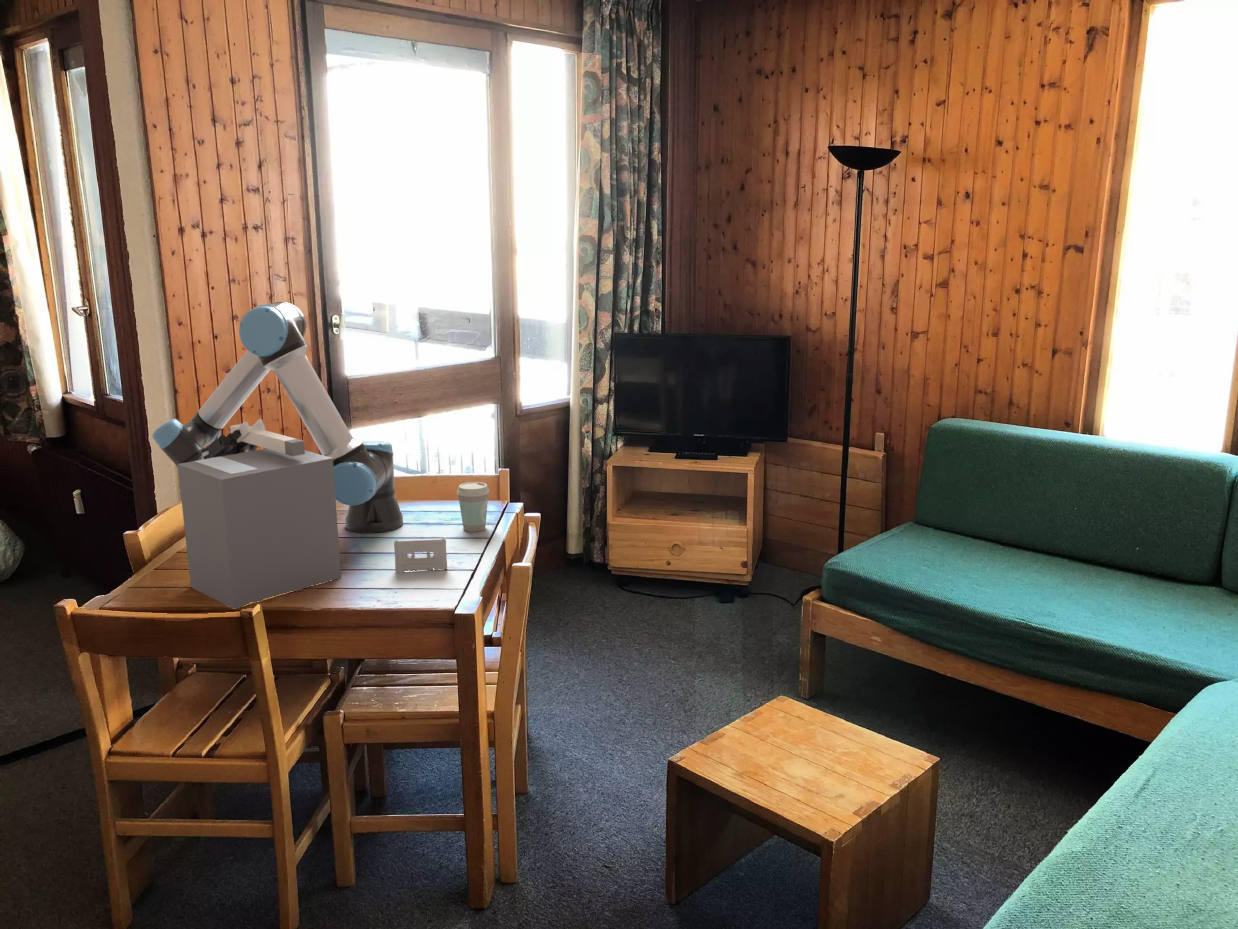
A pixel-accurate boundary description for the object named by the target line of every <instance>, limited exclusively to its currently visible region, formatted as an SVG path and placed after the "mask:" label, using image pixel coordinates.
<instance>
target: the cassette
mask: <svg viewBox="0 0 1238 929" xmlns="http://www.w3.org/2000/svg"><path fill="white" fill-rule="evenodd" d="M393 545H394V546H393V547H394V549H393V550H394V567H395V568H394V570H395V572H396V571H408V570H410V571H413V570H415V571H417V570H433V568H434V569H435V570H438V569H447V570H448V558H447V556H448V555H447V540H446V538H425V539H424V538H422V539H403V540H402V539H401V540H399V539H398V540H394V541H393ZM415 553H426V555H415ZM430 553H433V554H430ZM409 554H411V555H409Z"/></svg>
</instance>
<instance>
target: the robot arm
mask: <svg viewBox="0 0 1238 929" xmlns="http://www.w3.org/2000/svg"><path fill="white" fill-rule="evenodd" d="M306 332H307V321H306V318H305V315H304V313H303V312H302V310H301V309H300V308H299V307H297V306H296V305H294V304H293V303H291V302H287V301H286V302H285V301H277V302H271V303H268V304H267V303H266V304H260V305H258V306H255V307H254V308H251V309H250V310H248V311H247V312H245V314H244V315H243V316H242V318H241V321H240V323H239V327H238V335H239V339H240V342H241V343H242V345H243V346H244V348H245V349H246V351H245V352H244V353H243V355H242V356H241V357H240V358H239V359H238V360H237V363H235V365H234V366H233V367H232V369H230V371H229V372H228V373H227V375H226V376H225V377H223V380H221V382H220V383H219V384H218V386H217V387H216V388H215V389H214V391H213V392H212V393H211V394H210V396H208V398H207V400H206V401H205V402H204V403H203V405H202V406H200V408H199V409H198V411H197V412H196V413H195V414H194V416H192V418H191V419H190V420H189V421H188V422H187V423H186V422H185V423H181V422H180V421H179V420H178V419H176V418H172V419H169V420H168V421H166V422H164V424H162V425H160V426H159V427H158V428H157V429H156V430H154V432H153V434H152V439H153V440H154V442H155V443H156V444H157V445H158V447H159V449H160V450H162V451H163V453H164V454H165V455H166V456H167V457H168V458H169V459H170V461H172V463H174V465H175V466H176V467H177V468H178V464H181V463H187V462H193V461H198V460H203V459H209V458H215V457H221V456H227V455H233V454H238V453H244V452H250V451H255V450H257V448H258V447H259V446H256V445H253V444H249V443H246V442H242V440H243V439H244V438H245V437H246V436H247V435H248V434H249V433H250V432H251V431H250V428H249V426H250V425H249V422H248V421H243V422H242V423H240V424H241V425H240V426H239V427H238V428H237V429H236V430H235V431H234V432H233V433H231V432H230V433H227V435H226V436H225V434H222V435H221V433H222V429H223V428H224V427H225V426H226V425H227V423H228V422H229V421H230V420H231V419H232V417H233V416H234V415H235V413H236V412H238V410H239V409H240V408H241V406H242V405H243V404H244V403H245V401H246V400H248V398H249V397H250V395H251V394H252V393H253V391H255V390H256V388H257V387H258V386H259V384H260V383H261V382H262V381H263V379H264V378H265V377H266V376H267V375H268V374H269V372H270V371H273V372H274V374H275V375H276V377H277V379H278V381H279V383H280V385H281V386H282V387H283V389H284V391H285V392H286V394H287V396H288V398H289V399H290V401H291V403H292V404H293V406H294V408H295V410H296V412H297V413H298V415H299V417H300V418H301V420H302V422H303V424H304V425H305V427H306V429H307V431H308V432H309V435H310V436H311V437H312V439H313V441H314V443H315V445H316V446H317V448H318V450H319V451H320V454H321V455H323V456H327V457H330V458H333V468H334V483H335V497H336V502H338V503H340V504H343V505H346V506H348V510H347V515H346V516H345V519H344V520H345V528H346V529H347V530H348V531H351V532H354V533H360V534H361V533H364V534H366V533H367V534H372V533H373V534H374V533H382V532H383V533H384V532H388V531H392V530H395V529H398V528H400V527H402V525H403V524H404V514H403V512H402V511H401V509H400V506H399V502H398V500H397V498H396V491H395V488H396V487H395V468H394V452H393V451H394V450H393V447H392V444H391V443H390V442H388V441H379V440H375V441H373V440H371V441H370V440H367V441H363V440H362V441H360V440H358V439H355V438H354V437H353V435H352V434H351V432H350V430H349V428H348V426H347V424H346V423H345V421H344V420H343V418H342V417H341V414H340V412H339V411H338V409H337V407H336V406H335V404H334V402H333V401H332V399H331V396H330V395H329V394H328V392H327V390H326V388H325V386H324V385H323V383H322V381H321V379H320V378H319V376H318V374H317V372H316V371H315V369H314V366H312V364H311V361H309V359H308V356H307V354H306V353H307V352H306V351H307V348H308V345H307V342H306V341H305V339H304V337H305V335H306ZM251 427H255V428H258V429H262V430H266V426H265V424H264V420H263V418H259V419H258V420H256V421H255V423H253V425H252V426H251ZM266 431H267V430H266Z"/></svg>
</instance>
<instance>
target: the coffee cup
mask: <svg viewBox="0 0 1238 929" xmlns="http://www.w3.org/2000/svg"><path fill="white" fill-rule="evenodd" d="M489 493H490V489H489V486H488V484H487V483H485V482H482V481H481V482H480V481H468V482H463V483H461V484H459V485H458V489H457V491H456V495H458V502H459V508H460V509H459V510H460V514H461V515H460V516H461V521H462V528H463V529H462V530H463V531H465V530H466V531H465V532H468V531H478V532H481V531H480V530H482V531H484V530H486V528H487V527H486V524H487V513H488V501H489ZM483 529H484V530H483Z"/></svg>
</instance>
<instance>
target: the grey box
mask: <svg viewBox="0 0 1238 929" xmlns="http://www.w3.org/2000/svg"><path fill="white" fill-rule="evenodd" d="M177 471H178V481H179V488H180V498H181V506H182V507H181V508H182V518H183V527H184V536H185V544H186V545H185V546H186V554H187V555H186V556H187V564H188V573H189V574H188V575H189V581H190V582H189V584H190V588H192V589H193V590H196V591H198V592H200V593H201V594H203V595H205V596H207V597H209V598H211V599H212V598H213V600H214V599H215V600H214V601H216V600H217V602H218V601H219V602H218V603H220V602H222V603H223V604H222V603H221V604H222V605H224V604H226V605H228V606H230V607H231V608H230V607H229V608H230V609H232V608H238V609H241V608H240V607H242V606H244V605H246V604H249V603H250V602H257V601H261V600H263V599H265V598H269V597H272V596H276V595H279V594H283V593H287V592H290V591H295V590H298V589H302V588H306V587H308V586H311V585H316V584H319V583H323V582H326V581H330V580H334V581H336V580H335V579H337V580H340V579H339V578H341V579H342V570H341V557H340V541H339V529H338V528H339V526H338V514H337V500H336V497H335V483H334V468H333V458H330V457H327V456H323V455H322V454H321V453H320V454H319V453H316V452H314V451H313V452H312V451H309V450H306V449H305V454H302V455H297V456H290V455H286V454H283V453H280V452H276V451H273V450H270V449H266V448H262V449H256V450H255V451H250V452H249V451H244V453H238V454H233V455H227V456H221V457H215V458H209V459H203V460H198V461H193V462H187V463H181V464H178V467H177ZM330 582H331V581H330ZM226 605H225V606H226ZM228 606H227V607H228ZM242 608H243V607H242Z"/></svg>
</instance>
